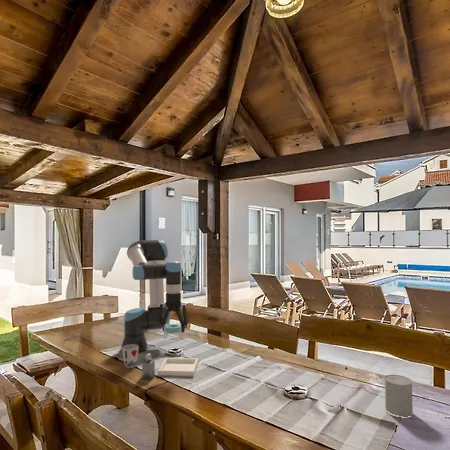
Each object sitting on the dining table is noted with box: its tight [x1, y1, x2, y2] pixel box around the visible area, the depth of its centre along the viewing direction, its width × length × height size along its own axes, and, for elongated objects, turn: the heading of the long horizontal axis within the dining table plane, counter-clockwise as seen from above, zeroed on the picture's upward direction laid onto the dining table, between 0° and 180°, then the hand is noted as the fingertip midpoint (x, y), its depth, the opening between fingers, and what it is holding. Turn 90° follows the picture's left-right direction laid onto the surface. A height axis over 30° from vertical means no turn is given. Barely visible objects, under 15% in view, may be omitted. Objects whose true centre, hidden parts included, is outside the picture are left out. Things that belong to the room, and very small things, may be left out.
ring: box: [165, 323, 181, 334], centre depth 177 cm, size 9×8×2 cm
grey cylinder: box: [384, 374, 414, 417], centre depth 136 cm, size 10×10×12 cm
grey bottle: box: [141, 352, 156, 381], centre depth 169 cm, size 6×6×11 cm
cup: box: [121, 344, 139, 369], centre depth 183 cm, size 8×8×10 cm
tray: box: [157, 357, 199, 378], centre depth 178 cm, size 17×17×2 cm
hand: (173, 338), depth 177 cm, fingers closed on ring, 8 cm apart
